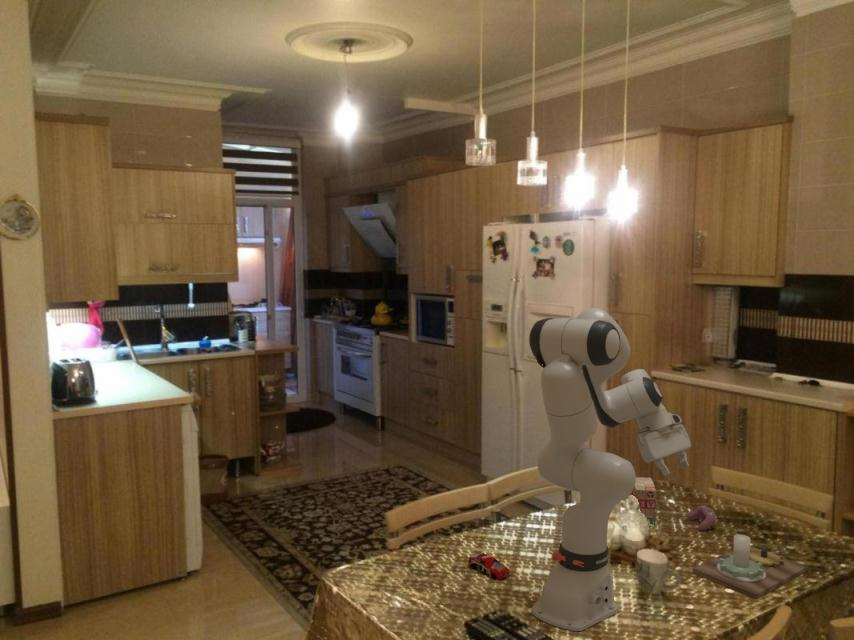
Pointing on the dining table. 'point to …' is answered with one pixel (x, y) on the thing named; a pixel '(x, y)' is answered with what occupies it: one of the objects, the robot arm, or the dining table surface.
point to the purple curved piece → (703, 517)
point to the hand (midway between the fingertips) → (676, 471)
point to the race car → (488, 566)
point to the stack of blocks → (646, 497)
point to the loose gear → (741, 560)
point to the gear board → (773, 577)
